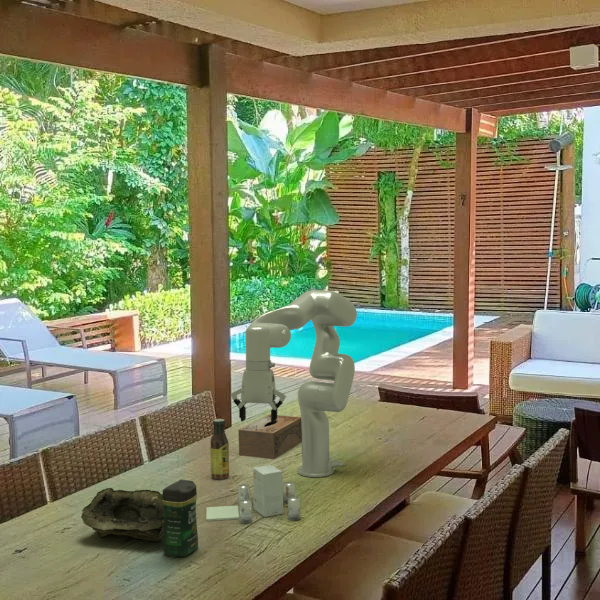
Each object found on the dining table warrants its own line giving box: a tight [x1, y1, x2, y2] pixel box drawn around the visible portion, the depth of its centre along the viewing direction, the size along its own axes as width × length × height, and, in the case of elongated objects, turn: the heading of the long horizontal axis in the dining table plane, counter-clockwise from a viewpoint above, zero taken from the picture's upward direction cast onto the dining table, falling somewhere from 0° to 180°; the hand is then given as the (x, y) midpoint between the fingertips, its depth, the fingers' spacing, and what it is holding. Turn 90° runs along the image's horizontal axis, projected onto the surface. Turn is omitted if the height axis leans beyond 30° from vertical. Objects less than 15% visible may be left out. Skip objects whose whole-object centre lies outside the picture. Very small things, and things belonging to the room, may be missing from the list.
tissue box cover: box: [238, 414, 302, 460], centre depth 314 cm, size 26×14×10 cm, turn 156°
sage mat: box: [205, 505, 240, 522], centre depth 244 cm, size 10×10×1 cm
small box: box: [252, 464, 284, 518], centre depth 245 cm, size 8×6×13 cm
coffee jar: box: [161, 479, 199, 558], centre depth 217 cm, size 10×8×19 cm
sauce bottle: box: [209, 418, 230, 480], centre depth 279 cm, size 7×6×20 cm
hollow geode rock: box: [81, 487, 164, 543], centre depth 228 cm, size 28×13×15 cm
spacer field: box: [237, 481, 301, 524], centre depth 246 cm, size 18×18×6 cm
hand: (258, 421), depth 252 cm, fingers open, 9 cm apart
